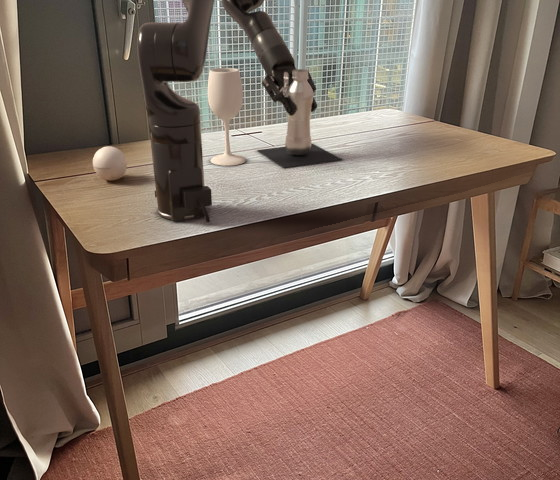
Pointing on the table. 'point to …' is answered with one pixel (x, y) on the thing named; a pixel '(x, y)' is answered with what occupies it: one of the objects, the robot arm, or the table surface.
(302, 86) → the plastic bottle
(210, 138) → the table surface
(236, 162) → the wineglass
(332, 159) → the felt mat
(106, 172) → the white sphere
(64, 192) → the table surface
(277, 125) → the table surface
